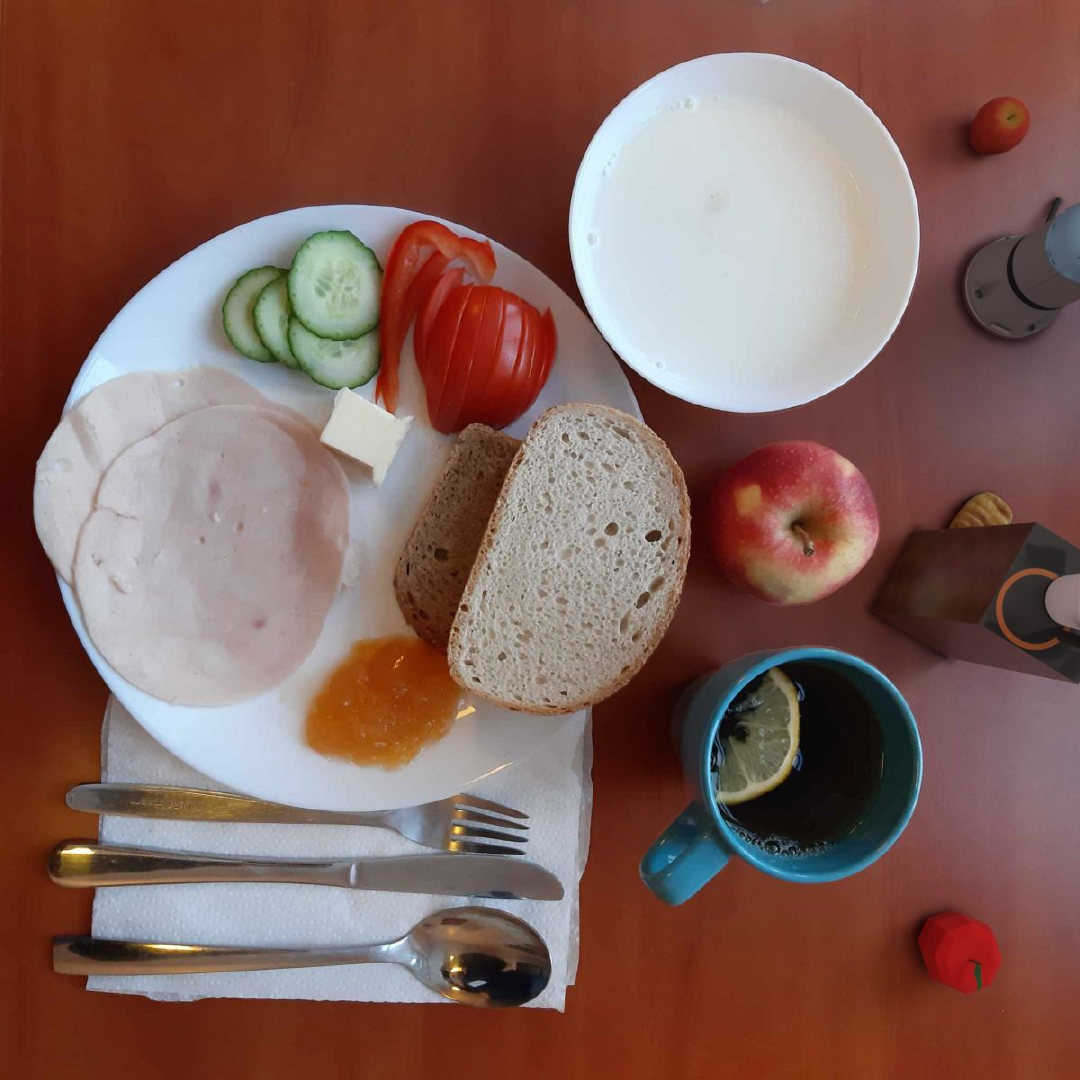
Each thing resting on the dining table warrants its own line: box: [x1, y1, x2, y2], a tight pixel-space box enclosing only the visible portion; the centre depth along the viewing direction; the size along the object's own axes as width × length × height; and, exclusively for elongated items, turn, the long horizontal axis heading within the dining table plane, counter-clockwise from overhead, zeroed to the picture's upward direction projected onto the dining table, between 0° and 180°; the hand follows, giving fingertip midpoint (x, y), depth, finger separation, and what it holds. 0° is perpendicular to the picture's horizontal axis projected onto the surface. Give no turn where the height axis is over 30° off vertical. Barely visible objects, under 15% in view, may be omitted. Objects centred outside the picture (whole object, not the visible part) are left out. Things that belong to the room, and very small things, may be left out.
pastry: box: [948, 491, 1013, 529], centre depth 127 cm, size 9×7×4 cm
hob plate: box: [979, 521, 1080, 686], centre depth 101 cm, size 14×14×1 cm
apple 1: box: [917, 909, 1003, 995], centre depth 122 cm, size 11×11×10 cm
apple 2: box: [969, 95, 1031, 156], centre depth 127 cm, size 8×8×8 cm
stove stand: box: [871, 521, 1077, 685], centre depth 115 cm, size 14×14×28 cm
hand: (1079, 590), depth 95 cm, fingers closed on cup, 10 cm apart
